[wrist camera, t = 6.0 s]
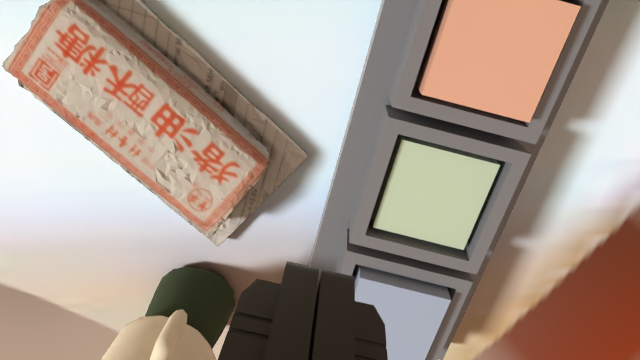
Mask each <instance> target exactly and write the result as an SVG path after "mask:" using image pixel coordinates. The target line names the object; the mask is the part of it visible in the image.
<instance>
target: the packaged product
mask: <svg viewBox="0 0 640 360" xmlns="http://www.w3.org/2000/svg"><path fill="white" fill-rule="evenodd" d="M3 68H4V69H5V71H7V72H9V73H11V74H12V75H13V76H14V77H16V78H17V79H18V83H19V86H21V87H23V88H24V89H26V90H28V91H30V92H31V93H32V94H33V95H34V97H35V98H37V99H38V100H40V101H41V102H43V103H44V104H45V105H46V106H47V107H48V108H49V109H50V110H52V111H53V112H54V113H55V114H57V115H58V116H59V117H60V118H62V119H63V120H64V121H65V122H67V123H68V124H69V125H70V126H71V127H73V128H74V129H75V130H76V131H78V132H79V133H80V134H82V135H83V136H84V137H85V138H86V139H87V140H89V141H90V142H91V143H92V144H94V145H95V146H96V147H97V148H99V149H100V150H101V151H102V152H104V153H105V154H106V155H107V156H108V157H109V158H110V159H111V160H112V161H114V162H115V163H117V164H118V165H120V166H121V167H122V168H123V169H124V170H125V171H126V172H127V173H129V174H130V175H131V176H132V177H134V178H135V179H136V180H137V181H139V182H140V183H141V184H143V185H144V186H145V187H146V188H147V189H148V190H150V191H151V192H152V193H154V194H155V195H157V196H158V197H159V198H160V199H161V200H162V201H163V202H164V203H165V204H166V205H168V206H169V207H170V208H171V209H172V210H174V211H175V212H176V213H177V214H179V215H180V216H181V217H182V218H184V219H185V220H186V221H187V222H188V223H190V224H191V225H192V226H194V227H195V228H196V229H197V230H198V231H199V232H201V233H203V234H204V235H205V236H206V237H207V238H209V239H210V240H211V241H212V242H213V243H214V244H215V245H216V246H219V245H220V244H221V243H222V242H223V241H224V240H225V239H226V238H227V237H229V236H230V235H231V234H232V233H233V232H234V230H235V229H237V228H238V227H239V226H240V225H241V224H242V223H243V222H244V221H245V220H246V219H247V218H248V217H249V216H250V215H251V214H252V213H253V212H254V211H255V210H256V209H257V208H258V207H259V206H260V205H261V204H262V203H263V202H264V201H265V200H266V199H267V198H268V197H269V196H270V195H271V194H272V193H273V192H274V191H275V190H276V189H277V188H278V187H279V186H280V184H281V183H282V182H283V181H284V180H285V179H286V178H287V177H288V176H289V175H290V174H291V173H292V172H293V171H294V170H295V169H296V168H297V167H298V166H299V165H300V164H301V163H302V162H303V161H304V160H305V159H306V158H307V154H306V153H305V152H304V151H303V150H302V149H301V148H300V147H299V146H298V145H297V144H296V143H295V142H294V141H293V140H292V139H291V138H290V137H289V136H288V135H287V134H286V133H285V132H283V131H282V130H281V129H280V128H279V127H278V126H277V125H276V124H275V123H274V122H273V121H272V120H271V119H269V118H268V117H267V116H266V115H265V114H263V113H262V112H261V111H260V110H258V109H257V108H256V107H254V106H253V105H252V104H251V103H250V102H249V101H248V100H247V99H246V98H245V97H244V96H243V95H242V94H241V93H239V92H238V91H237V90H236V89H235V88H234V87H233V86H232V85H231V84H230V83H229V82H228V81H227V80H226V79H225V78H224V77H223V76H222V75H221V74H220V73H218V72H217V71H216V70H215V69H214V68H213V67H212V66H211V65H210V64H209V63H208V62H207V61H206V60H205V59H204V58H203V57H202V56H201V55H200V54H199V53H198V52H197V51H196V50H195V49H194V48H193V47H192V46H191V45H189V44H188V43H187V42H186V41H185V40H184V39H183V38H182V37H180V36H179V35H178V34H176V33H175V32H174V31H172V30H171V29H170V28H168V27H167V26H166V25H165V24H164V23H163V22H162V21H161V20H160V19H159V18H158V17H157V16H156V15H155V14H154V13H153V12H152V11H151V10H150V9H149V8H148V7H147V6H146V5H145V4H144V3H143V2H142V1H141V0H50V1H49V2H48V3H46V4H44V5H42V6H40V7H39V9H38V12H37V14H36V17H35V19H34V20H33V21H32V23H31V28H30V30H29V31H28V33H27V34H25V35H24V36H23V37H22V38H21V40H20V41H19V42H18V43H17V44H16V45H15V48H14V51H13V52H12V54H11V55H10V56H9V57H8V58H7V59H6V60H5V61H4V63H3Z"/></svg>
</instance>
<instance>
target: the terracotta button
mask: <svg viewBox="0 0 640 360" xmlns="http://www.w3.org/2000/svg"><path fill="white" fill-rule="evenodd" d="M580 8H581V6H578V5H574V4H570V3H566V2H563V1H559V0H446V1H445V4H444V7H443V10H442V13H441V16H440V19H439V22H438V25H437V28H436V31H435V34H434V37H433V40H432V43H431V46H430V49H429V52H428V55H427V58H426V61H425V64H424V67H423V70H422V73H421V76H420V79H419V82H418V85H417V88H418V90H419V91H420V93H421V94H422V95H425V96H429V97H433V98H436V99H440V100H444V101H448V102H452V103H456V104H459V105H463V106H467V107H471V108H475V109H478V110H482V111H486V112H490V113H494V114H498V115H501V116H505V117H509V118H513V119H517V120H520V121H524V122H528V123H530V121H531V119H532V116H533V114H534V112H535V110H536V107H537V105H538V103H539V100H540V98H541V96H542V94H543V91H544V89H545V87H546V85H547V82H548V80H549V78H550V76H551V73H552V71H553V69H554V67H555V64H556V62H557V60H558V57H559V55H560V53H561V51H562V48H563V46H564V44H565V42H566V39H567V37H568V35H569V33H570V30H571V28H572V26H573V23H574V21H575V19H576V17H577V14H578V12H579V10H580Z"/></svg>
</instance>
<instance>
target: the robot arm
mask: <svg viewBox="0 0 640 360" xmlns="http://www.w3.org/2000/svg"><path fill="white" fill-rule="evenodd" d="M318 276H319V278H318ZM386 345H387V344H386V332H385V324H384V322H383V320H382V319H381V317H380V315H379V313H378V312H377V310H376V308H375V306H374V305H371V304H366V303H362V302H357V301H355V277H354V276H350V275H346V274H341V273H337V272H332V271H328V270H324V269H321V272H320V275H319V268H314V267H310V266H305V265H301V264H296V263H292V262H288V261H287V263H286V267H285V271H284V275H283V279H282V283H281V284H277V283H272V282H268V281H263V280H259V279H257V280H256V281H255V282H253V283H252V284H251V285H250V286H249V287H248V288H247V289H246V290H244V291H243V292H242V294H241V297H240V299H239V302H238V305H237V308H236V310H235V314H234V316H233V319H232V322H231V324H230V327H229V331H228V333H227V335H226V338H225V341H224V344H223V347H222V349H221V352H220V355H219V358H218V360H388V356H387V349H386Z"/></svg>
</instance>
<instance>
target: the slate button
mask: <svg viewBox="0 0 640 360" xmlns="http://www.w3.org/2000/svg"><path fill="white" fill-rule="evenodd" d="M354 277H355V301H357V302H362V303H366V304H371V305H374V306H375V308H376V310H377V312H378V313H379V315H380V317H381V319H382V320H383V322H384V324H385V332H386V344H387V345H386V349H387V356H388V360H425V359H426V356H427V354H428V352H429V350H430V347H431V345H432V343H433V341H434V338H435V336H436V334H437V331H438V329H439V327H440V325H441V322H442V320H443V318H444V316H445V313H446V311H447V309H448V307H449V304H450V302H451V298H450V295H449V292H448V289H447V287H446V286H442V285H438V284H434V283H430V282H426V281H422V280H418V279H413V278H409V277H405V276H401V275H397V274H393V273H389V272H385V271H381V270H377V269H373V268H369V267H365V266H361V265H358V267H357V270H356V273H355V276H354Z"/></svg>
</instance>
